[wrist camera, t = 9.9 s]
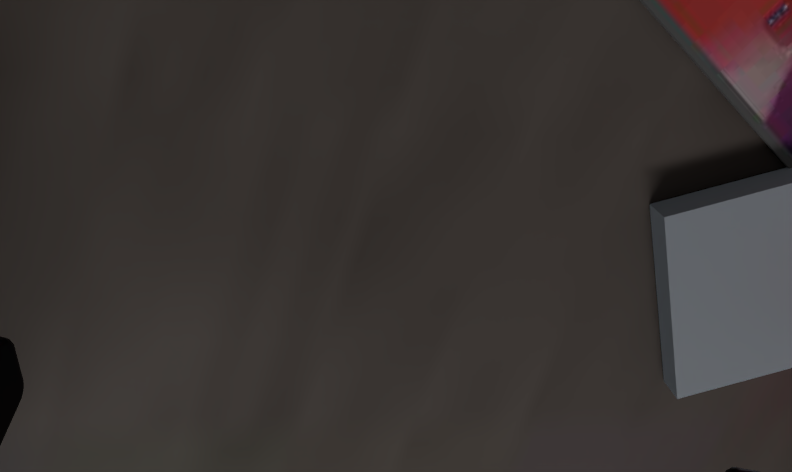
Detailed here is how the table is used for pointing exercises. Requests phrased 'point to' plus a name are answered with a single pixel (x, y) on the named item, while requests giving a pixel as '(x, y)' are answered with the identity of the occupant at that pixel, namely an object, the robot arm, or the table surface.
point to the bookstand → (724, 282)
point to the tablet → (740, 57)
